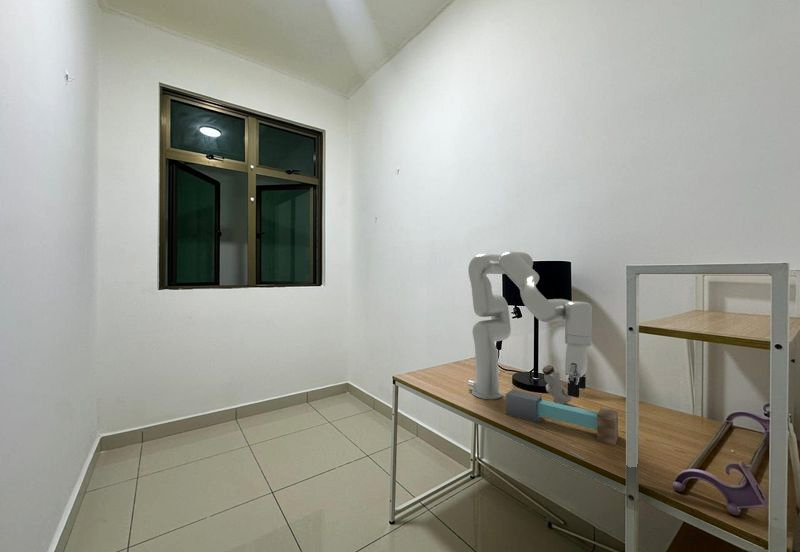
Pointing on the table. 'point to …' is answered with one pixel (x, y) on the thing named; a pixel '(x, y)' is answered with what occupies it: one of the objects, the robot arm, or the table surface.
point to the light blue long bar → (567, 414)
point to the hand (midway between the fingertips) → (576, 391)
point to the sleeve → (522, 405)
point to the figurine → (555, 385)
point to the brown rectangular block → (607, 425)
